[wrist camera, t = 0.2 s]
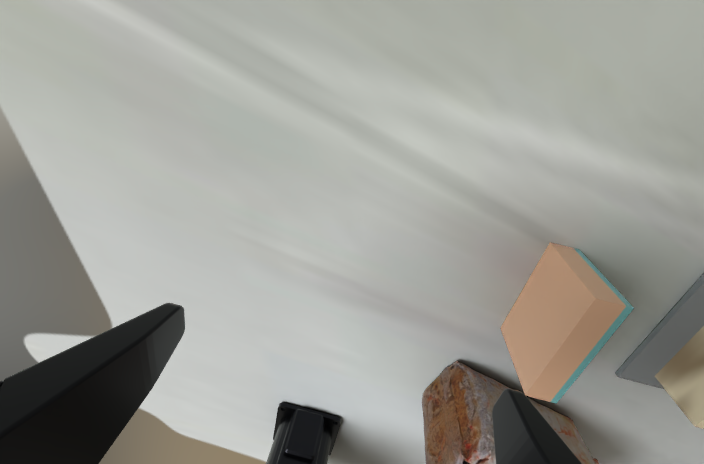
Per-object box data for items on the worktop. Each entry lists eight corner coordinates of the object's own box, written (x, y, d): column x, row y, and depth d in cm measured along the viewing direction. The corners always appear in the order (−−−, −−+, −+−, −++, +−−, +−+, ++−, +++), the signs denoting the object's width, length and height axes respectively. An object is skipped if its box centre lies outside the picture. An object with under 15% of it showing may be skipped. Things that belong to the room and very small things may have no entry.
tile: (525, 333, 26) (556, 403, 21) (500, 327, 26) (525, 395, 21) (578, 249, 22) (634, 308, 17) (549, 242, 22) (595, 298, 17)
